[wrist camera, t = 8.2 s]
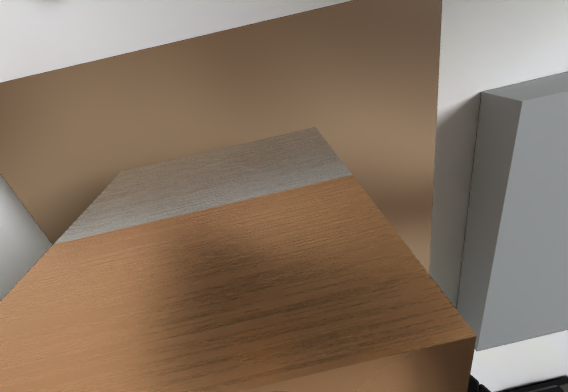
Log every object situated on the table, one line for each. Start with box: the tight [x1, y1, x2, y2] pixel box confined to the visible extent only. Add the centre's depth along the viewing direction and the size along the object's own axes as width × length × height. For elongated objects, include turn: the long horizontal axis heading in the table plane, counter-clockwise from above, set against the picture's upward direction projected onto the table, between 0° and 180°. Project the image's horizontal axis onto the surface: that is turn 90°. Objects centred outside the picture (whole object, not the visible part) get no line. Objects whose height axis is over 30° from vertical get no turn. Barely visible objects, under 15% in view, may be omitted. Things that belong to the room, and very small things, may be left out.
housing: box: [0, 127, 477, 392], centre depth 7 cm, size 5×9×6 cm, turn 12°
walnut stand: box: [0, 0, 442, 273], centre depth 12 cm, size 14×14×2 cm
